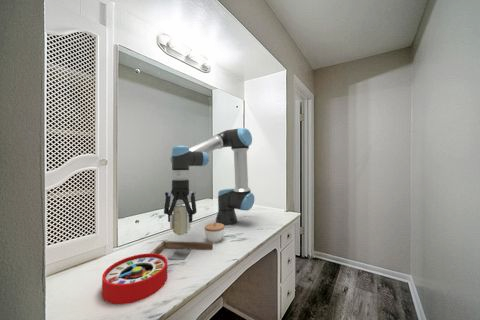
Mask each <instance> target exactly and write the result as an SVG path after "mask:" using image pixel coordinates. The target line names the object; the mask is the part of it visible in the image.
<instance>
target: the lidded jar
mask: <svg viewBox="0 0 480 320" xmlns="http://www.w3.org/2000/svg"><path fill="white" fill-rule="evenodd" d="M225 226H226V225H224V224H221V223H216V222H211V223H208V224H205V226H204V234H205V238H206V239H207V240H208V242H213V243H219V242H220V241H221V240H222V239H223V237H224V235H225Z"/></svg>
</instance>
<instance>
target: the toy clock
mask: <svg viewBox="0 0 480 320" xmlns="http://www.w3.org/2000/svg"><path fill="white" fill-rule="evenodd" d="M101 277H102V279H101V296H102V299H103V300H104V301H105V302H106V301H107V303H109V304H113V305H125V304H127V305H128V304H131V303H136V302H140V301H141V300H145V299H146V298H149V297H150V296H153V295H154V294H156V293H157V292H159V290H161V289H162V287H164V285H165V284H166V283H167V282H168V281H167V280H168V259H167V257H166V256H164V255H162V254H161V253H160V254H153V253H151V252H149V253H140V254H135V255H132V256H127V257H125V258H123V259H120V260H118V261H116V262H114V263H113V264H111V265H109V266H108V267H107V268H106V269H105V270H104V272H103V273H102V276H101ZM165 282H166V283H165Z"/></svg>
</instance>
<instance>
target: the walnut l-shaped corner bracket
mask: <svg viewBox="0 0 480 320" xmlns="http://www.w3.org/2000/svg"><path fill="white" fill-rule="evenodd" d="M167 249H168V250H169V249H171V250H175V251H174V252H173V253H172V255H171V256H169V257H168V260H172V261H173V260H175V261H179V260H180V261H185V260H186V259H187V257H188V255H189V254H190V253H191V252H192V250H202V251H203V250H205V251H213V250H214V249H213V242H210V241H205V242H204V241H175V240H174V241H172V240H171V241H170V240H169V241H168V240H163V241H162V242H160V244H159V245H157V246H156V247H155V248H154V249H152V251H150V253H153V254H160V255H161V253H162V252H163V251H165V250H167Z"/></svg>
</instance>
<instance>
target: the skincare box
mask: <svg viewBox="0 0 480 320" xmlns="http://www.w3.org/2000/svg"><path fill="white" fill-rule="evenodd" d="M172 214H173V229H172V232H173V234H176V235H177V236H183V235H186V234H188V230H187V216H188V212H187V209H186V206H185V204H184V205H183V204H179V205H177V204H176V205H175V206H174V208H173V213H172Z"/></svg>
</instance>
